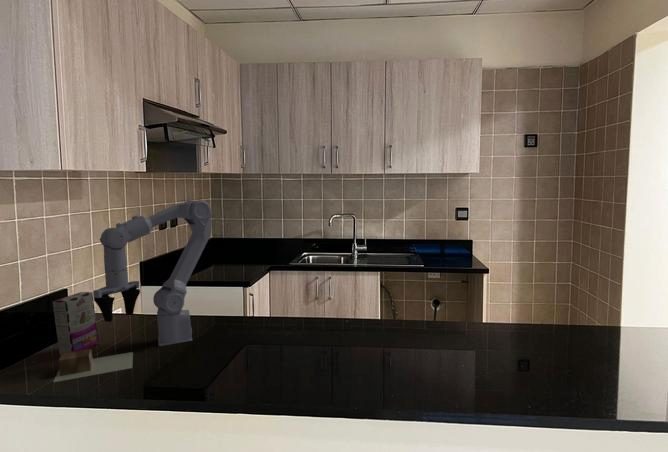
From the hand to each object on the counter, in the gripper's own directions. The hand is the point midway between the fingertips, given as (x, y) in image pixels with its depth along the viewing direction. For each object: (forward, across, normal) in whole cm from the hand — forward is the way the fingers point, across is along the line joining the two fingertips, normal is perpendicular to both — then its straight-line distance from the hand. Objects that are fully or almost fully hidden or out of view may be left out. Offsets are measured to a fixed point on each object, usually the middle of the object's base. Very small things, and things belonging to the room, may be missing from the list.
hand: (119, 317), depth 137 cm
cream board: (+11, -10, -1) cm, 14 cm away
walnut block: (+8, -10, 0) cm, 13 cm away
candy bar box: (+11, 0, +16) cm, 20 cm away
